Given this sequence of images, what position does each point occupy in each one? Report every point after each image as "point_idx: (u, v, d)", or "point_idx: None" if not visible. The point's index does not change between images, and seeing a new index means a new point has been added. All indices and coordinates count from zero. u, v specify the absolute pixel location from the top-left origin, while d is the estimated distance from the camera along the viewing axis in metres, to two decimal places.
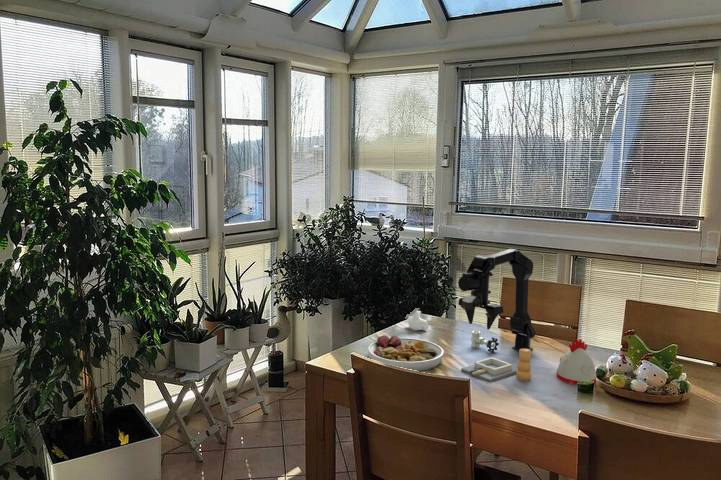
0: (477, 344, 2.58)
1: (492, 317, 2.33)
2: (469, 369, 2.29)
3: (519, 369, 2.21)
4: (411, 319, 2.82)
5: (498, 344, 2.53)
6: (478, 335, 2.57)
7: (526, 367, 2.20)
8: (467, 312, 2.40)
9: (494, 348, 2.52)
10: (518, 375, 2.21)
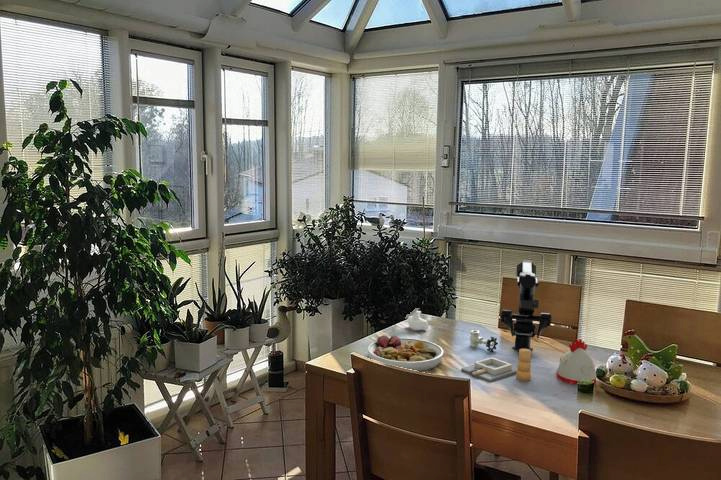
0: (476, 343, 2.59)
1: None
2: (469, 369, 2.29)
3: (519, 369, 2.21)
4: (411, 319, 2.82)
5: (497, 343, 2.54)
6: (477, 334, 2.58)
7: (526, 367, 2.20)
8: (511, 323, 2.32)
9: (493, 347, 2.53)
10: (518, 375, 2.21)
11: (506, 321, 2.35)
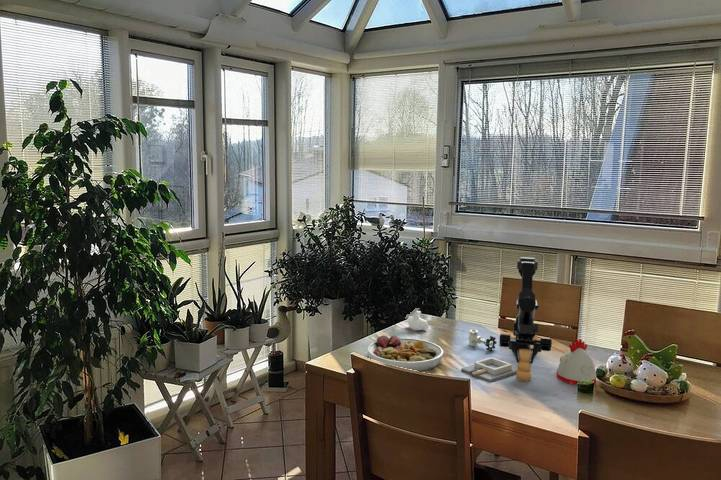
0: (475, 343, 2.59)
1: None
2: (469, 369, 2.29)
3: (519, 369, 2.21)
4: (411, 319, 2.82)
5: (496, 342, 2.55)
6: (476, 334, 2.59)
7: (526, 367, 2.20)
8: (516, 348, 2.23)
9: (492, 346, 2.54)
10: (518, 375, 2.21)
11: (510, 346, 2.26)
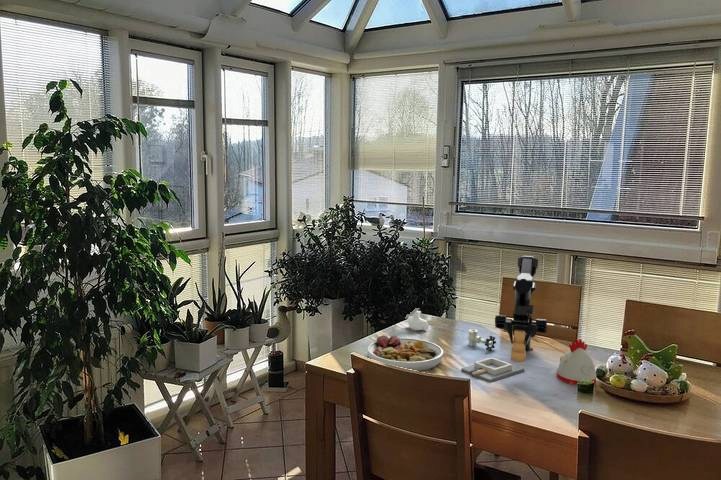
0: (474, 343, 2.60)
1: (530, 333, 2.23)
2: (469, 369, 2.29)
3: (513, 350, 2.22)
4: (411, 319, 2.82)
5: (495, 342, 2.56)
6: (475, 334, 2.59)
7: (520, 348, 2.20)
8: (511, 329, 2.23)
9: (492, 346, 2.54)
10: (512, 356, 2.22)
11: (506, 327, 2.26)
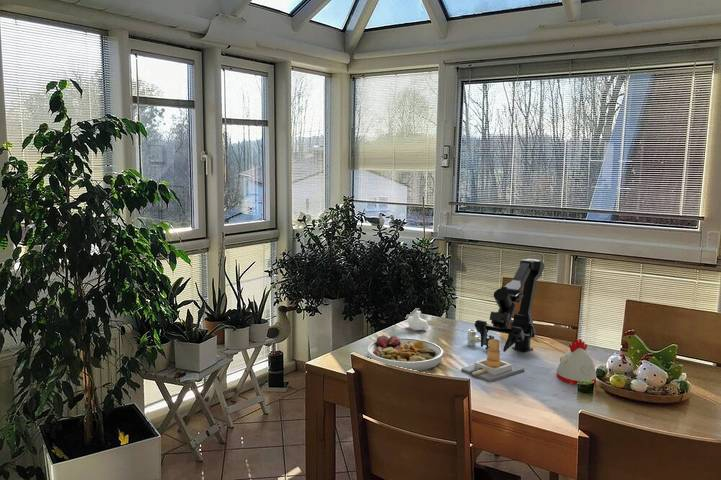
0: (473, 342, 2.60)
1: (511, 341, 2.28)
2: (469, 369, 2.29)
3: (487, 358, 2.29)
4: (411, 319, 2.82)
5: None
6: (474, 333, 2.60)
7: (493, 356, 2.27)
8: (482, 334, 2.32)
9: None
10: (486, 364, 2.30)
11: None
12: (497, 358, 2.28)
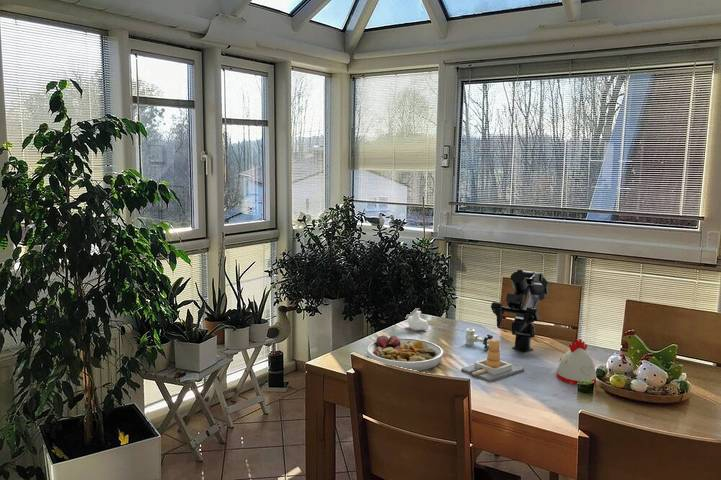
0: (472, 342, 2.61)
1: (526, 321, 2.38)
2: (469, 369, 2.29)
3: (487, 358, 2.29)
4: (411, 319, 2.82)
5: None
6: (473, 333, 2.61)
7: (493, 356, 2.27)
8: (498, 314, 2.43)
9: None
10: (486, 364, 2.30)
11: None
12: (497, 358, 2.28)
